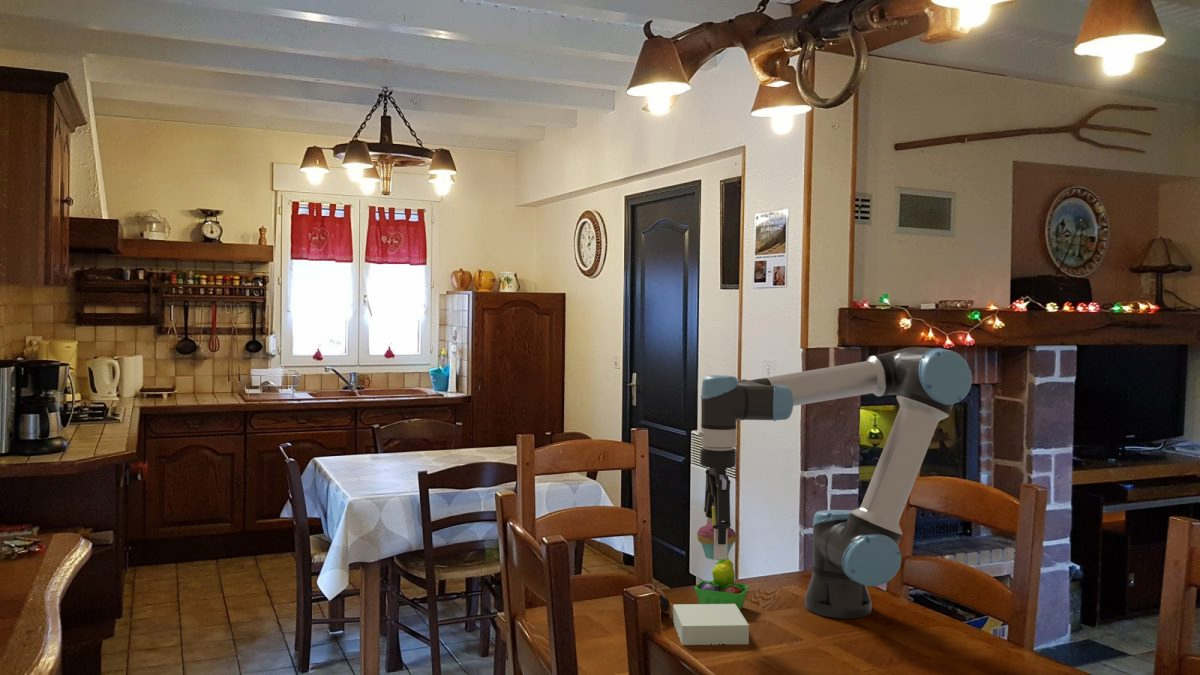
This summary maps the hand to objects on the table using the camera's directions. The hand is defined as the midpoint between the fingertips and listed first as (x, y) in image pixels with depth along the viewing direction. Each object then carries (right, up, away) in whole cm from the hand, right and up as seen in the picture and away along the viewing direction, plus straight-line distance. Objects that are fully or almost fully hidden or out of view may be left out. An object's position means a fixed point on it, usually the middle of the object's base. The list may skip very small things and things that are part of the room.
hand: (716, 553), depth 195 cm
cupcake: (0, -1, 0) cm, 1 cm away
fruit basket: (+4, -17, +19) cm, 26 cm away
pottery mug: (-13, -17, +13) cm, 25 cm away
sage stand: (-1, -17, +1) cm, 18 cm away
